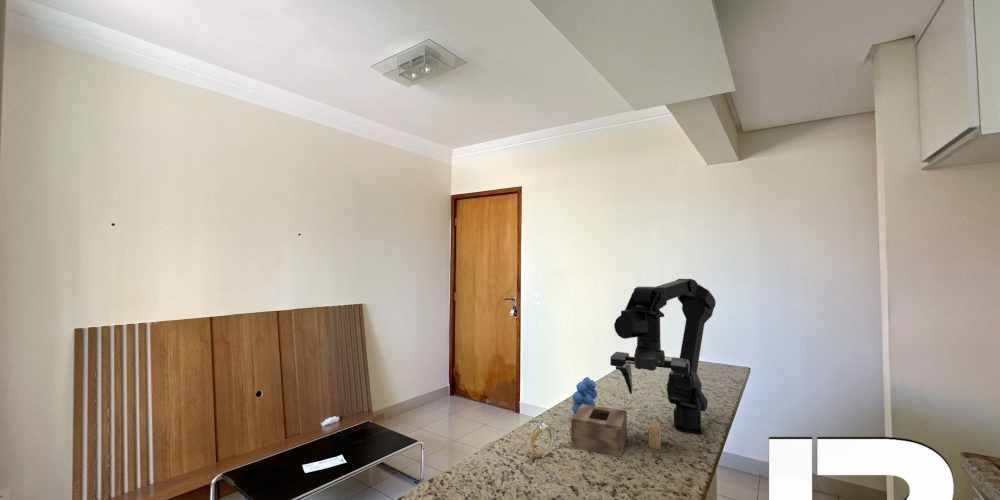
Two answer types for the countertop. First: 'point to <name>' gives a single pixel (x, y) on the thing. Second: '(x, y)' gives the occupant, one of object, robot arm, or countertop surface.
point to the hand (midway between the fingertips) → (649, 396)
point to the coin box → (599, 429)
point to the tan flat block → (654, 434)
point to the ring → (534, 436)
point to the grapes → (584, 394)
